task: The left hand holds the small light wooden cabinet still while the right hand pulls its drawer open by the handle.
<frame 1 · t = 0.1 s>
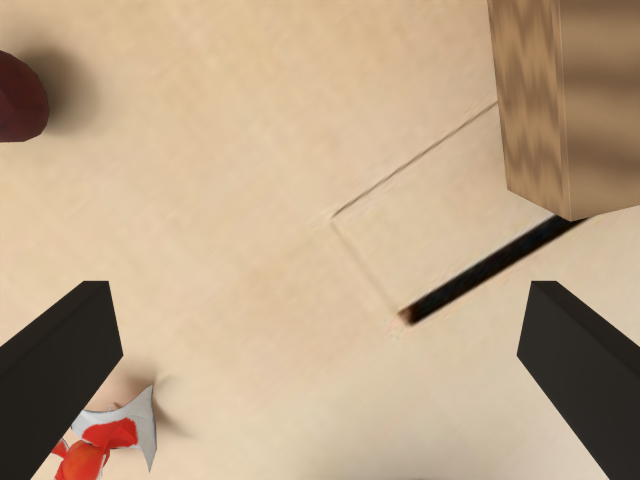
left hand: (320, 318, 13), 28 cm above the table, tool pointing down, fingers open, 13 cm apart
cabinet: (553, 77, 36), on the table
fish: (119, 411, 49), on the table
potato: (27, 97, 37), on the table
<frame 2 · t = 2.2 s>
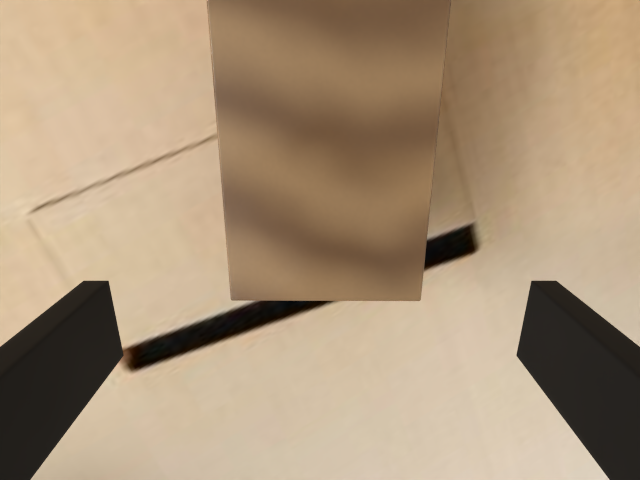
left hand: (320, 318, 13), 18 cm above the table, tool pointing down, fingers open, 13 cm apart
cabinet: (324, 109, 28), on the table
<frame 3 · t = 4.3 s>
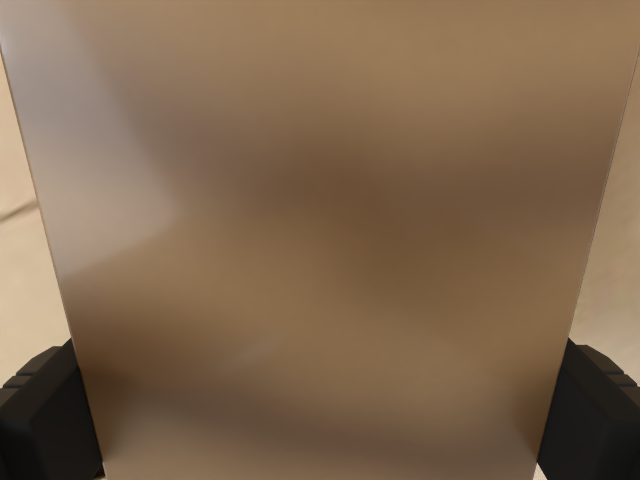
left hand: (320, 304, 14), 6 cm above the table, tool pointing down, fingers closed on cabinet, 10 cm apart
cabinet: (319, 116, 17), on the table, touching left hand
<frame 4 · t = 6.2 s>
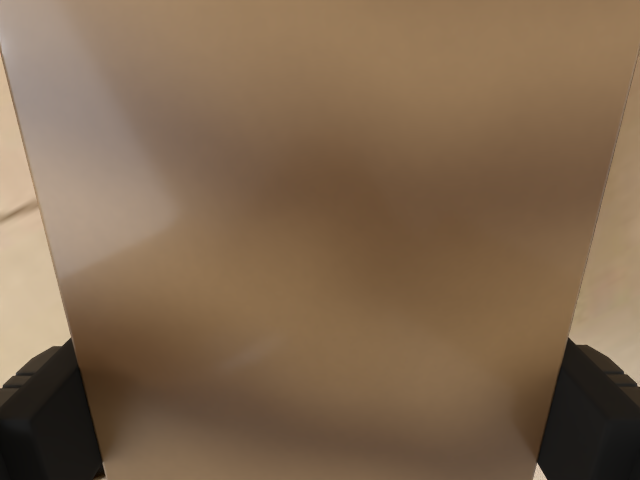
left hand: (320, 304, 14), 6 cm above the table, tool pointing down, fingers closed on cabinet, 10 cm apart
cabinet: (319, 116, 17), on the table, touching left hand
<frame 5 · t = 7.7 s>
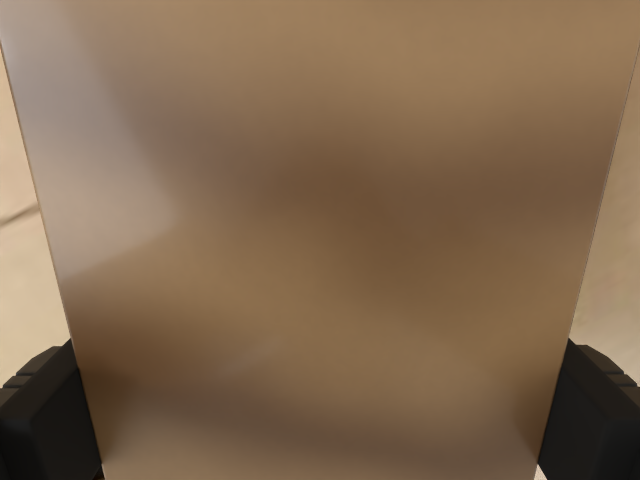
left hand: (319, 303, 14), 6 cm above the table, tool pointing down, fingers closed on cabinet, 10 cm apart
cabinet: (319, 117, 17), on the table, touching left hand
when the left hand's fingers open (6 cm above the table, at t = 9.5 s): cabinet stays where it is, on the table.
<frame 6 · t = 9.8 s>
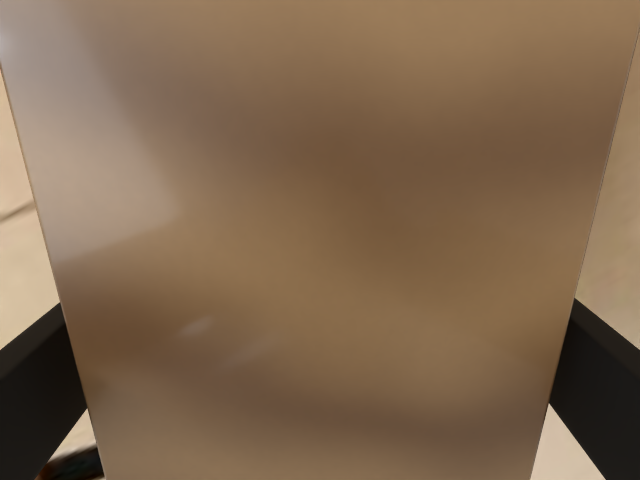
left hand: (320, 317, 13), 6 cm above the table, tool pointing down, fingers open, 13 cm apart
cabinet: (318, 97, 17), on the table
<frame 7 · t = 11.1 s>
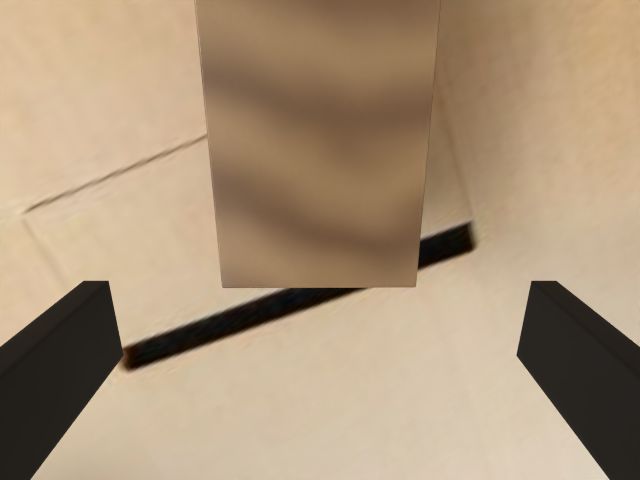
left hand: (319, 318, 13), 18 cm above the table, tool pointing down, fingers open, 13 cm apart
cabinet: (318, 96, 28), on the table
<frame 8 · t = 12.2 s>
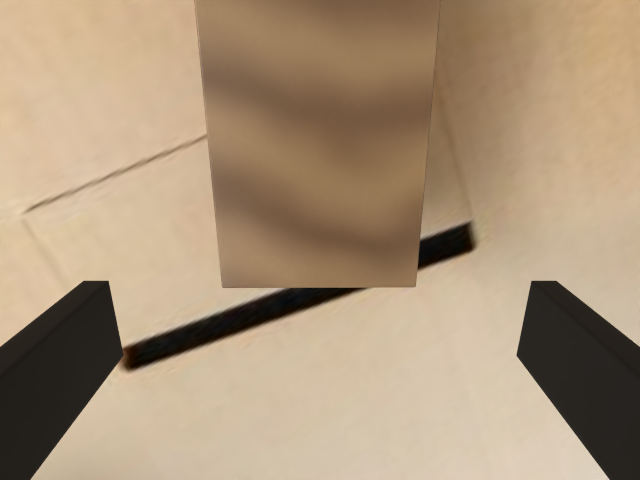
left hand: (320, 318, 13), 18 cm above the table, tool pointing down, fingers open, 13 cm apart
cabinet: (318, 96, 28), on the table
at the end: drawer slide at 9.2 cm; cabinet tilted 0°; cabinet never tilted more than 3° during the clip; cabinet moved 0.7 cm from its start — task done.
